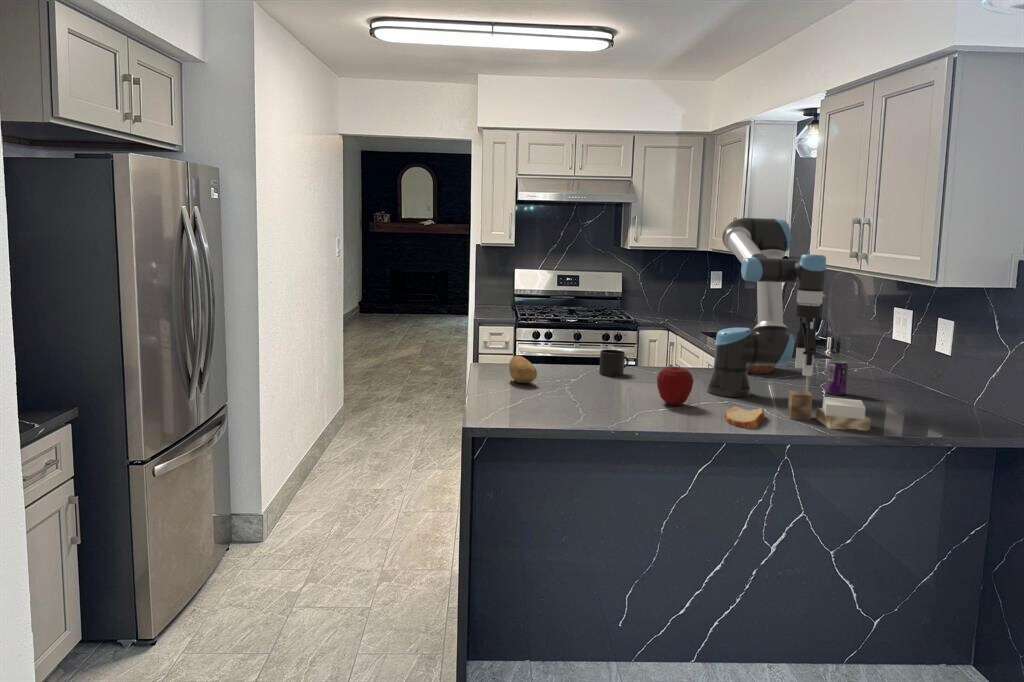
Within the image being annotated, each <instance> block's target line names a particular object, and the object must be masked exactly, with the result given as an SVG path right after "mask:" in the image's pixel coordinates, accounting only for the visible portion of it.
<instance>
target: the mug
mask: <svg viewBox="0 0 1024 682" xmlns="http://www.w3.org/2000/svg"><path fill="white" fill-rule="evenodd" d="M599 352H600V354H599V370H598V373H599V374H600V375H601V376H606V377H621V376H624V372H625V371H624V369H625V368H627V367H628V365H629V358H628V357H626V356H625V351H623V350H618V349H601V350H600V351H599ZM625 361H626V362H625Z"/></svg>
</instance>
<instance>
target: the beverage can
mask: <svg viewBox="0 0 1024 682" xmlns="http://www.w3.org/2000/svg"><path fill="white" fill-rule="evenodd" d="M828 361H829V362H828V364H827V366H826V377H825V385H824V392H826V393H828V394H829V395H834V396H841V395H844V394H846V393H847V384H848V383H847V382H848V375H849V374H848V373H849V366H848V361H846V360H840V359H829V360H828Z"/></svg>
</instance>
